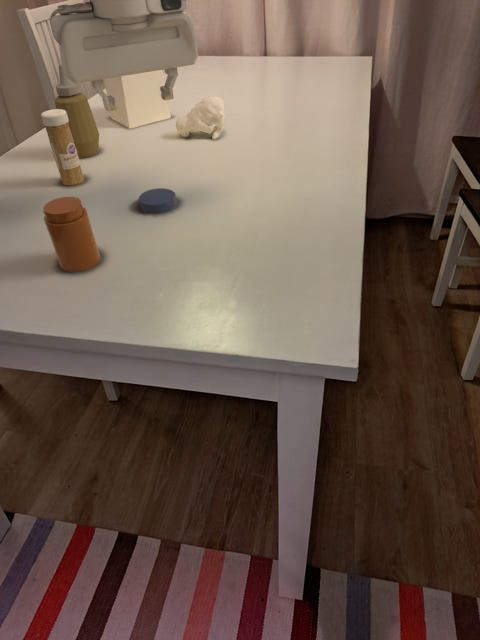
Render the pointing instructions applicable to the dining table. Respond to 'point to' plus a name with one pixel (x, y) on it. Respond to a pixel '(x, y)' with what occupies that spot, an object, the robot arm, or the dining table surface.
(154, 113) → the milk
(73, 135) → the squeeze bottle
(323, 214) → the dining table surface
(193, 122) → the white lumpy piece
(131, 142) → the dining table surface
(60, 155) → the sprinkles bottle
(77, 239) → the jar
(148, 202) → the lid
